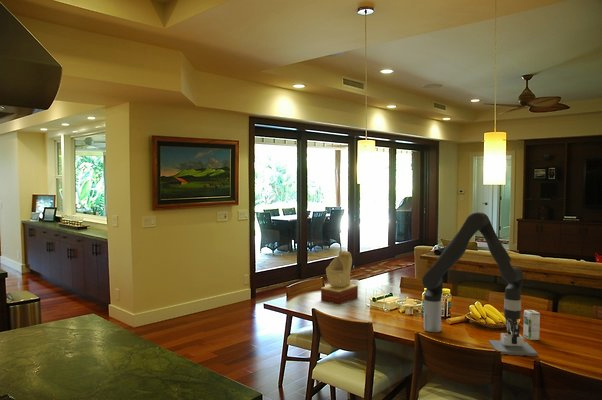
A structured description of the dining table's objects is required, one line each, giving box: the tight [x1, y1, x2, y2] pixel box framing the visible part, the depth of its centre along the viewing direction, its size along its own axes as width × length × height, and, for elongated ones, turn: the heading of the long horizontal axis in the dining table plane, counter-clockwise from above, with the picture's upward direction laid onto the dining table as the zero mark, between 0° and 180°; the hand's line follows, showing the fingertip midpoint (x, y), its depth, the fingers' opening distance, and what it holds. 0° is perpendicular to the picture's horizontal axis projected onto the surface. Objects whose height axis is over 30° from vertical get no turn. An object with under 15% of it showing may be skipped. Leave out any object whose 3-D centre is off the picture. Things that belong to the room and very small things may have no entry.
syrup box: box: [522, 309, 541, 341], centre depth 228 cm, size 6×6×14 cm
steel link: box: [500, 332, 525, 346], centre depth 212 cm, size 9×6×4 cm, turn 81°
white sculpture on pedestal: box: [320, 248, 359, 305], centre depth 310 cm, size 25×18×35 cm
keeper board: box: [488, 335, 538, 357], centre depth 212 cm, size 18×15×7 cm
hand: (512, 341), depth 212 cm, fingers closed on steel link, 6 cm apart
